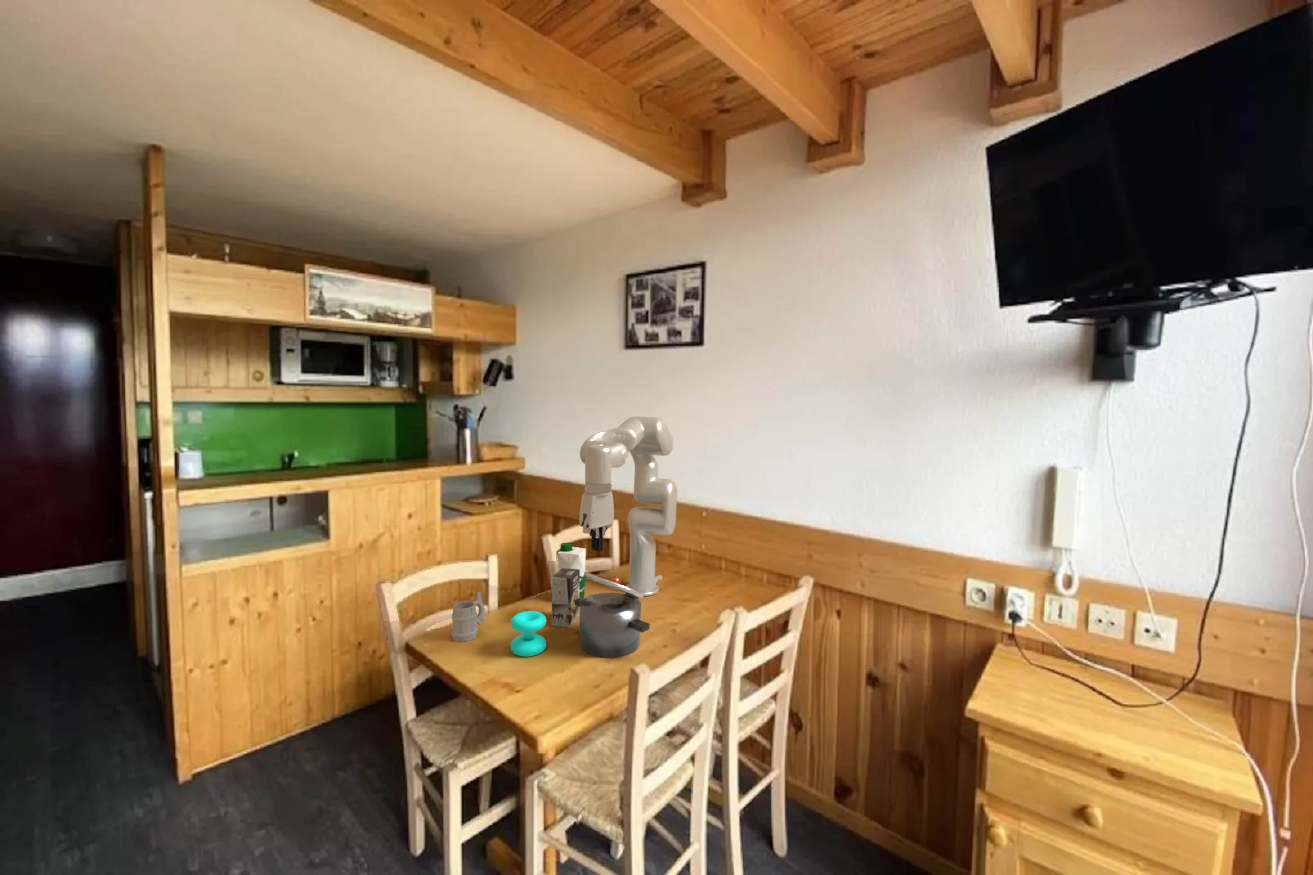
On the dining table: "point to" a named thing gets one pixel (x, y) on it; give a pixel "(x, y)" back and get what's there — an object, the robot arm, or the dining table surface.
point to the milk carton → (573, 562)
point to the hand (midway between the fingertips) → (597, 549)
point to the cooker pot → (610, 624)
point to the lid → (614, 584)
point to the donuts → (528, 633)
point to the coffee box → (565, 597)
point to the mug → (467, 619)
